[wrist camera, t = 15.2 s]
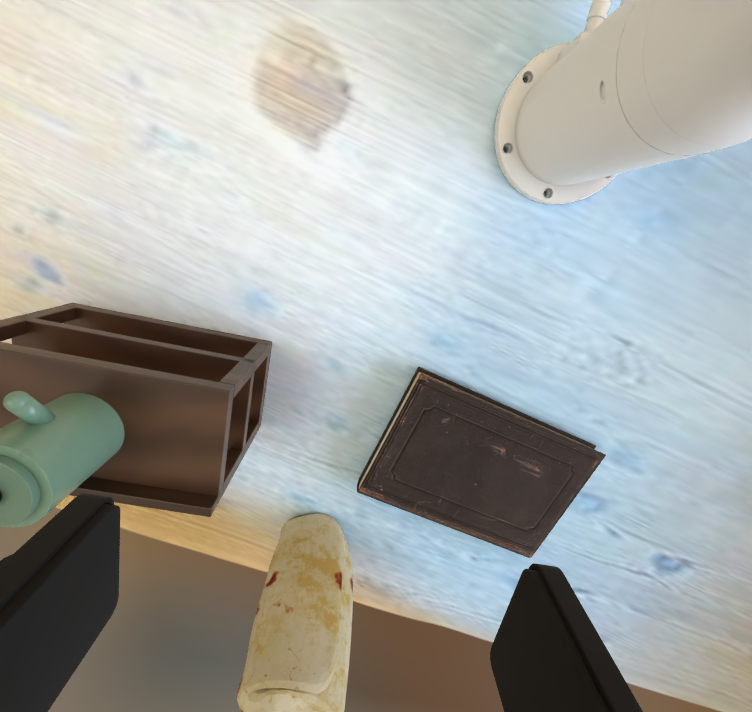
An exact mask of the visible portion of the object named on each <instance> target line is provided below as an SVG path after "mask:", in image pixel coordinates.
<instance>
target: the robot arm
mask: <svg viewBox="0 0 752 712" xmlns="http://www.w3.org/2000/svg"><path fill="white" fill-rule="evenodd" d="M611 2H612V1H611V0H593V2H592V5H591V8H590V11H589V14H588V17H587V24H586V27H585V30H584V32H582V33H580V34H579V35H578V36H577V37H576V38H575V39H574V40H573V41H572V42H568V43H562V44H560V45H557V46H554V47H551V48H549V49H547V50H546V51H544V52H542V53H541V54H539V55H537V56H536V57H535V58H534V59H532V60H531V61H530V62H529V63H528V64H527V65H526V66H525V67H524V68H523V69H522V70H521V71H520V72H519V73H518V74H517V75H516V77H515V78H514V79H513V81H512V82H511V84H510V85H509V87H508V88H507V90H506V92H505V94H504V96H503V99H502V101H501V103H500V106H499V109H498V113H497V117H496V122H495V132H494V140H495V151H496V155H497V159H498V163H499V165H500V167H501V169H502V172H503V174H504V176H505V177H506V179H507V180H508V181H509V183H510V184H511V185H512V186H513V187H514V188H515V189H516V190H517V191H518V192H519V193H521V194H522V195H524V196H525V197H527V198H529V199H531V200H533V201H536V202H540V203H543V204H554V205H558V204H567V203H571V202H576V201H580V200H582V199H584V198H587V197H589V196H591V195H593V194H595V193H596V192H598V191H599V190H601V189H602V188H604V187H605V186H606V185H607V184H608V183H609V182H610V181H612V180H613V179H614V178H615V176H616V175H617V174H620V173H624V172H628V171H633V170H637V169H641V168H646V167H650V166H654V165H658V164H663V163H667V162H671V161H676V160H680V159H684V158H688V157H693V156H697V155H701V154H706V153H708V152H713V151H717V150H721V149H725V148H728V147H731V146H734V145H737V144H740V143H743V142H745V141H748V140H750V139H752V0H621V4H620V7H619V8H618V9H616V10H615V11H614V12H613V13H612V14H611V15H610V16H609V17H608V18H606V17H607V14H608V11H609V8H610V5H611ZM523 78H525V79H526V83H525V82H524V81H523ZM504 147H505V148H507V152H506V153H504V151H503V148H504ZM544 191H545V192H546V196H545V197H544V196H543V192H544ZM119 540H120V507H119V506H116V505H114V500H113V499H112V498H111V497H106V496H99V495H93V494H86V493H83V494H80V495H78V496H77V497H76V498H75V499H73V500H72V501H71V502H70V503H69V504H68V505H67V506H66V507H65V508H64V509H62V510H61V511H60V512H59V513H58V514H57V515H56V516H55V517H54V518H53V519H52V520H50V521H49V522H48V523H47V524H46V525H45V526H44V527H43V528H42V529H40V530H39V531H38V532H37V533H36V534H35V535H34V536H33V537H32V538H31V539H29V540H28V541H27V542H26V543H25V544H24V545H23V546H22V547H21V548H20V549H19V550H17V551H16V552H15V553H14V554H12V555H10V556H8V557H6V558H4V559H3V560H1V561H0V712H48V710H49V709H50V707H51V706H52V704H53V703H54V701H55V700H56V698H57V697H58V695H59V694H60V692H61V691H62V689H63V688H64V686H65V685H66V683H67V682H68V680H69V679H70V677H71V676H72V674H73V673H74V671H75V670H76V668H77V666H78V665H79V664H80V662H81V661H82V659H83V658H84V656H85V655H86V653H87V652H88V650H89V649H90V647H91V646H92V644H93V643H94V641H95V640H96V638H97V637H98V635H99V634H100V632H101V631H102V629H103V628H104V626H105V625H106V623H107V622H108V620H109V619H110V617H111V616H112V614H113V612H114V610H115V607H116V605H117V601H118V596H119V591H118V590H119V546H120V544H119V543H120V541H119ZM490 660H491V666H492V670H493V674H494V677H495V681H496V684H497V687H498V691H499V695H500V698H501V702H502V705H503V709H504V712H643V711H642V709H641V708H640V706H639V704H638V703H637V701H636V699H635V697H634V696H633V694H632V692H631V690H630V689H629V687H628V685H627V683H626V682H625V680H624V678H623V676H622V675H621V673H620V671H619V669H618V668H617V666H616V664H615V662H614V661H613V659H612V657H611V656H610V654H609V652H608V650H607V649H606V647H605V645H604V643H603V642H602V640H601V638H600V636H599V635H598V633H597V631H596V629H595V628H594V626H593V624H592V623H591V621H590V619H589V617H588V616H587V614H586V612H585V610H584V609H583V607H582V605H581V603H580V602H579V600H578V598H577V596H576V595H575V593H574V591H573V589H572V588H571V586H570V584H569V583H568V581H567V579H566V577H565V576H564V574H563V572H562V571H561V570H560V569H559V568H558V567H554V566H547V565H541V564H532V565H531V566H530V567H529V569H525V570H523V572H522V574H521V577H520V579H519V582H518V584H517V586H516V589H515V591H514V594H513V596H512V598H511V601H510V603H509V606H508V608H507V611H506V613H505V615H504V618H503V620H502V623H501V625H500V628H499V630H498V632H497V635H496V637H495V640H494V642H493V645H492V648H491V652H490Z"/></svg>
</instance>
